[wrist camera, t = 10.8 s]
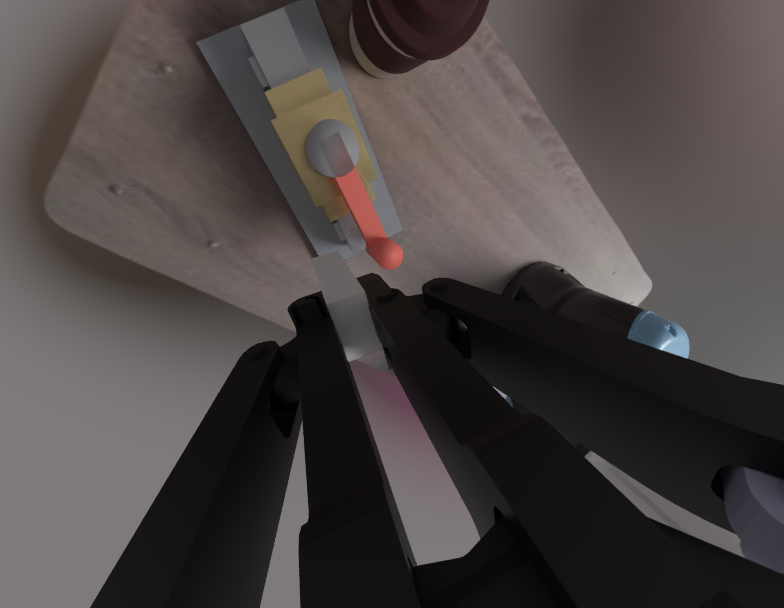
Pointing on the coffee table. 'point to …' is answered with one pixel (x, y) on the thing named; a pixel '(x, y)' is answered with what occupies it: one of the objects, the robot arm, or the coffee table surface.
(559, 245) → the coffee table surface
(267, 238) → the coffee table surface
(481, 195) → the coffee table surface
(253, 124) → the mount board
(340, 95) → the pipe valve
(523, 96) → the coffee table surface
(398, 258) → the lever
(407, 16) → the coffee cup
